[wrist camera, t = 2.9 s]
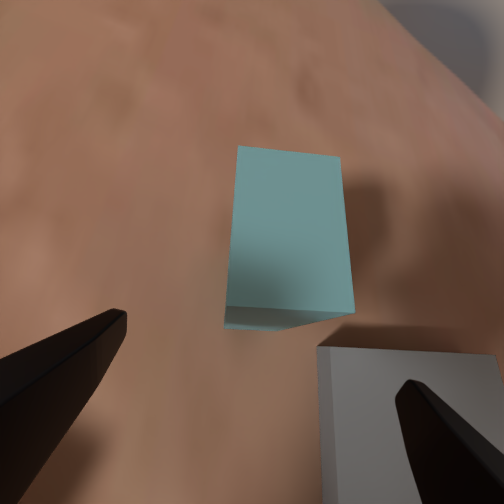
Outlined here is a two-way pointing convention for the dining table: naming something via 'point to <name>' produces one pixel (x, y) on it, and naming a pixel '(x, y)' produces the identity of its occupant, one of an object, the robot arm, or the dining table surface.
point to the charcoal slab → (393, 415)
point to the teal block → (287, 242)
